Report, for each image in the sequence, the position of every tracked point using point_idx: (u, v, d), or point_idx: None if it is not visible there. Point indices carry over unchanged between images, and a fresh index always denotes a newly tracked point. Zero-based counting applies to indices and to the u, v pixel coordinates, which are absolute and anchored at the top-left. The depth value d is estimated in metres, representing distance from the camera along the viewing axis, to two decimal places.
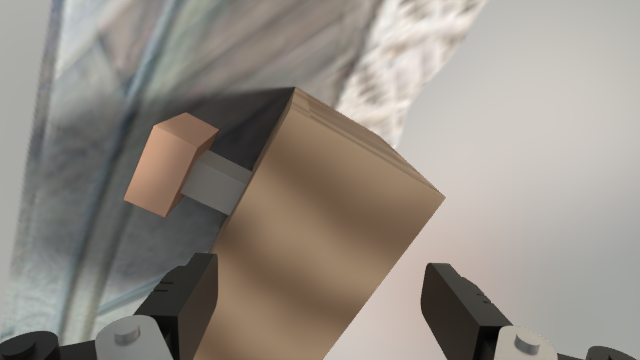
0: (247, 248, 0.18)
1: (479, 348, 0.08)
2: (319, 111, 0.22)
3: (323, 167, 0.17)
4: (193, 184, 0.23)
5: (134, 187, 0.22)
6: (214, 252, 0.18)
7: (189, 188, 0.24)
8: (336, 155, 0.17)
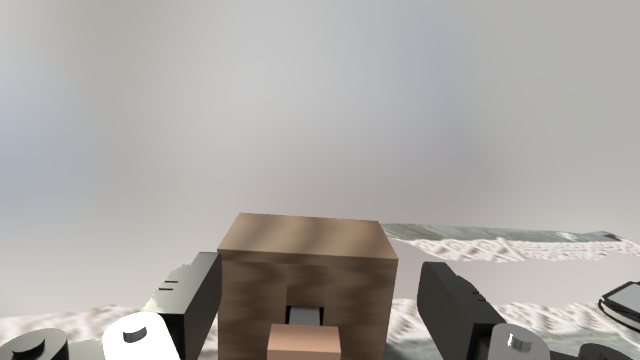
0: (302, 245, 0.33)
1: (473, 346, 0.09)
2: None
3: (242, 236, 0.34)
4: None
5: (325, 348, 0.26)
6: (313, 253, 0.31)
7: None
8: (234, 235, 0.34)
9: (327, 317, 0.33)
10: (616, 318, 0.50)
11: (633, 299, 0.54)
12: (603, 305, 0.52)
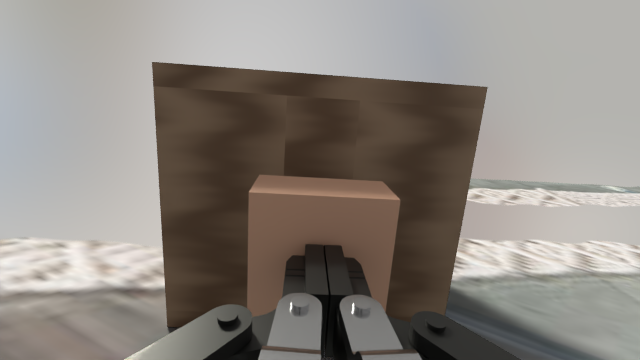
0: None
1: (332, 316, 0.09)
2: None
3: None
4: None
5: (367, 195, 0.13)
6: (332, 75, 0.17)
7: None
8: None
9: None
10: None
11: None
12: None
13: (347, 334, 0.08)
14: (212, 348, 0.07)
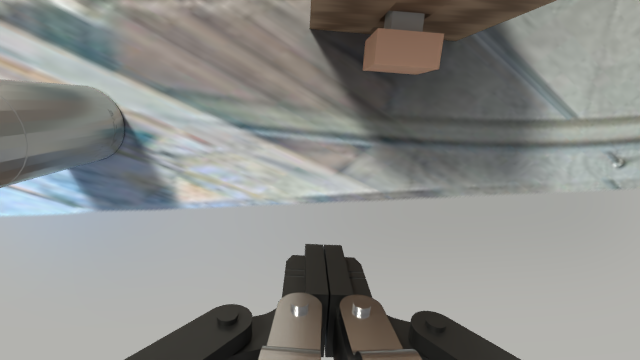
0: None
1: (332, 316, 0.09)
2: None
3: None
4: (410, 27, 0.29)
5: (426, 63, 0.28)
6: None
7: (415, 29, 0.29)
8: None
9: (431, 18, 0.30)
10: None
11: None
12: None
13: (347, 334, 0.08)
14: (212, 348, 0.07)
